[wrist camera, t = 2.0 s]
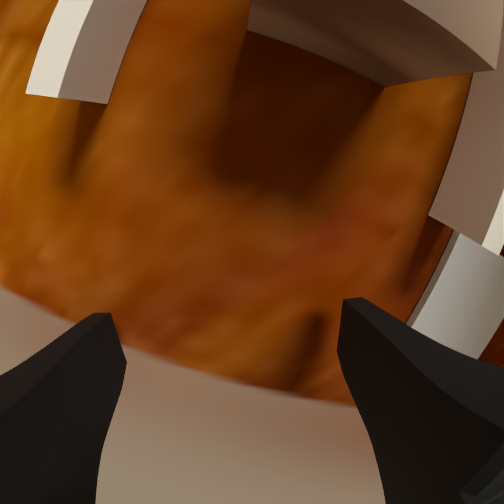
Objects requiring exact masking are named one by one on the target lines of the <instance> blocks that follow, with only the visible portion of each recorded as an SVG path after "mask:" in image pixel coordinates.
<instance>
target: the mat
mask: <svg viewBox="0 0 504 504" xmlns="http://www.w3.org/2000/svg"><path fill="white" fill-rule="evenodd" d="M503 318H504V257H503V256H501V255H500V254H499V256H498V255H497V254H495V253H493V252H491V251H490V250H488V249H486V248H485V247H483V246H481V245H479V244H478V243H476V242H474V241H473V240H471V239H469V238H468V237H466V236H464V235H463V234H461V233H459V232H457V231H456V230H454V231H453V233H452V236H451V238H450V240H449V242H448V245H447V247H446V249H445V251H444V253H443V255H442V257H441V259H440V262H439V264H438V266H437V268H436V270H435V272H434V274H433V276H432V278H431V280H430V282H429V283H428V285H427V287H426V289H425V291H424V293H423V295H422V297H421V298H420V300H419V302H418V304H417V306H416V307H415V309H414V311H413V313H412V314H411V316H410V318H409V320H408V321H407V323H406V325H408V326H410V327H411V328H413V329H415V330H417V331H418V332H420V333H422V334H424V335H425V336H427V337H429V338H431V339H433V340H435V341H437V342H438V343H440V344H442V345H444V346H447V347H449V348H451V349H453V350H455V351H458V352H460V353H462V354H465V355H467V356H469V357H472V358H475V359H478V358H479V356H480V355H481V353H482V352H483V350H484V349H485V347H486V346H487V344H488V343H489V341H490V340H491V338H492V337H493V335H494V333H495V332H496V330H497V328H498V327H499V325H500V323H501V322H502V320H503Z"/></svg>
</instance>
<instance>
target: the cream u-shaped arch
mask: <svg viewBox="0 0 504 504" xmlns="http://www.w3.org/2000/svg"><path fill="white" fill-rule="evenodd" d="M146 2H147V0H59V2H58V4H57V6H56V8H55V10H54V13H53V15H52V17H51V20H50V22H49V24H48V27H47V29H46V32H45V34H44V37H43V40H42V42H41V45H40V48H39V51H38V53H37V56H36V59H35V62H34V65H33V69H32V72H31V75H30V79H29V82H28V86H27V89H26V94H34V95H42V96H49V97H56V98H65V99H73V100H81V101H89V102H96V103H102V104H108V101H109V98H110V94H111V91H112V88H113V85H114V82H115V79H116V76H117V73H118V70H119V67H120V65H121V62H122V59H123V56H124V54H125V51H126V49H127V46H128V43H129V41H130V38H131V36H132V34H133V31H134V29H135V26H136V24H137V22H138V19H139V17H140V15H141V13H142V11H143V8H144V6H145V4H146ZM428 215H429V216H431V217H432V218H434V219H436V220H438V221H440V222H442V223H443V224H445V225H447V226H449V227H450V228H452V229H454V230H456V231H457V232H459V233H461V234H463V235H464V236H466V237H468V238H469V239H471V240H473V241H474V242H476V243H478V244H479V245H481V246H483V247H485V248H486V249H488V250H490V251H491V252H493V253H495V254H497V255H498V256H499V254H500V252H501V249H502V247H503V245H504V4H503V19H502V30H501V39H500V47H499V54H498V61H497V67H496V70H495V71H484V72H474V73H473V77H472V82H471V86H470V90H469V94H468V98H467V102H466V106H465V110H464V113H463V117H462V120H461V124H460V127H459V131H458V134H457V137H456V140H455V143H454V147H453V150H452V153H451V156H450V159H449V162H448V164H447V167H446V170H445V173H444V176H443V178H442V181H441V184H440V186H439V189H438V192H437V194H436V197H435V199H434V202H433V204H432V207H431V209H430V212H429V214H428Z"/></svg>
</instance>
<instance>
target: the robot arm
mask: <svg viewBox="0 0 504 504" xmlns="http://www.w3.org/2000/svg"><path fill="white" fill-rule="evenodd" d="M337 354H338V357H339V361H340V365H341V368H342V372H343V375H344V378H345V380H346V383H347V385H348V387H349V390H350V392H351V394H352V397H353V399H354V401H355V403H356V406H357V408H358V410H359V413H360V415H361V417H362V419H363V422H364V424H365V427H366V429H367V431H368V434H369V437H370V440H371V442H372V445H373V449H374V453H375V457H376V461H377V464H378V468H379V472H380V477H381V481H382V485H383V490H384V496H385V501H386V504H504V368H502V367H499V366H496V365H492V364H489V363H486V362H483V361H480V360H477V359H475V358H472V357H469V356H467V355H465V354H462V353H460V352H458V351H455V350H453V349H451V348H449V347H447V346H444V345H442V344H440V343H438V342H437V341H435V340H433V339H431V338H429V337H427V336H425V335H424V334H422V333H420V332H418V331H417V330H415V329H413V328H411V327H410V326H408V325H406V324H405V323H403V322H402V321H400V320H398V319H397V318H395V317H394V316H392V315H390V314H389V313H387V312H386V311H384V310H382V309H381V308H379V307H378V306H376V305H374V304H373V303H371V302H369V301H368V300H366V299H364V298H362V297H359V298H350V299H343V304H342V314H341V322H340V331H339V338H338V346H337ZM126 364H127V361H126V359H125V356H124V353H123V350H122V347H121V344H120V341H119V338H118V335H117V332H116V329H115V325H114V322H113V319H112V315H111V313H93V314H91V315H90V316H88V317H86V318H85V319H83V320H82V321H80V322H79V323H77V324H76V325H75V326H73V327H72V328H70V329H69V330H68V331H66V332H65V333H64V334H62V335H61V336H60V337H58V338H57V339H55V340H54V341H53V342H51V343H50V344H49V345H47V346H46V347H44V348H43V349H42V350H40V351H39V352H37V353H36V354H34V355H33V356H31V357H30V358H29V359H27V360H26V361H24V362H22V363H21V364H19V365H18V366H16V367H14V368H13V369H11V370H9V371H8V372H6V373H4V374H2V375H0V504H95V499H96V487H97V477H98V471H99V464H100V458H101V453H102V448H103V444H104V441H105V438H106V435H107V431H108V428H109V425H110V422H111V419H112V416H113V413H114V410H115V407H116V404H117V401H118V398H119V395H120V392H121V389H122V385H123V380H124V374H125V369H126Z"/></svg>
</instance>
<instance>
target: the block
mask: <svg viewBox="0 0 504 504" xmlns="http://www.w3.org/2000/svg"><path fill="white" fill-rule="evenodd" d="M503 4H504V0H251V4H250V11H249V17H248V24H247V30H248V31H251V32H255V33H258V34H261V35H264V36H267V37H270V38H273V39H276V40H279V41H282V42H285V43H288V44H290V45H293V46H296V47H299V48H301V49H304V50H306V51H309V52H311V53H314V54H316V55H319V56H321V57H323V58H326V59H328V60H330V61H333V62H335V63H337V64H339V65H342V66H344V67H346V68H348V69H350V70H352V71H354V72H356V73H358V74H360V75H362V76H364V77H366V78H368V79H370V80H372V81H374V82H376V83H378V84H380V85H382V86H384V87H388V86H393V85H397V84H402V83H408V82H413V81H419V80H424V79H430V78H437V77H443V76H450V75H458V74H466V73H474V72H484V71H495V70H496V67H497V61H498V54H499V47H500V39H501V30H502V19H503Z"/></svg>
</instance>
